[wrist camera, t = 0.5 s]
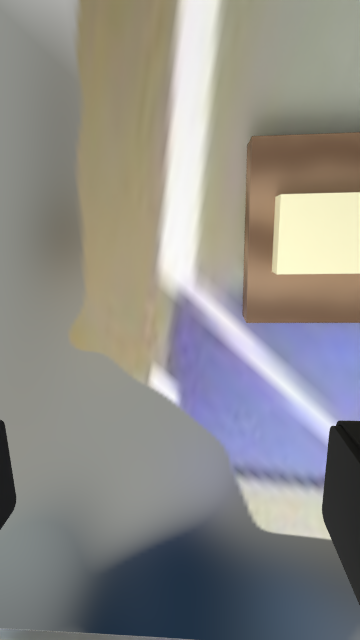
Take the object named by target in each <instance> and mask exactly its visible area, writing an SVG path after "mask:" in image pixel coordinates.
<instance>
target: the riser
mask: <svg viewBox="0 0 360 640" xmlns="http://www.w3.org/2000/svg"><path fill="white" fill-rule="evenodd" d="M351 192H360V132H356V133H329V134H302V135H275V136H252V138H251V140H250V142H249V143H248V145H247V175H246V210H245V246H244V282H243V317H244V319H245V321H246V323H360V274H275V273H273V272H272V257H273V236H274V216H275V197H276V196H278V195H281V194H312V193H351Z"/></svg>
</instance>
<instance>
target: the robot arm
mask: <svg viewBox="0 0 360 640" xmlns="http://www.w3.org/2000/svg"><path fill="white" fill-rule="evenodd" d="M15 504H16V493H15V487H14V480H13V474H12V468H11V461H10V456H9V448H8V442H7V436H6V429H5V424H4V422H3V421H2V420H0V529H1V528H2V526H3V525H4V524H5V522H6V521H7V519H8V518H9V516H10V514H11V513H12V512H13V510H14V507H15ZM322 514H323V519H324V522H325V525H326V527H327V530H328V532H329V534H330V537H331V539H332V541H333V544H334V546H335V548H336V550H337V553H338V555H339V558H340V560H341V562H342V565H343V567H344V570H345V572H346V574H347V577H348V579H349V581H350V584H351V586H352V588H353V591H354V593H355V595H356V598H357V600H358V602H359V605H360V421H338V422H337V424H336V426H331V428H330V432H329V442H328V453H327V463H326V473H325V483H324V494H323V504H322ZM0 640H189V639H174V638H158V637H141V636H124V635H108V634H91V633H74V632H56V631H39V630H20V629H3V628H0Z"/></svg>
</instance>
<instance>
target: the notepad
mask: <svg viewBox="0 0 360 640" xmlns="http://www.w3.org/2000/svg"><path fill="white" fill-rule="evenodd" d="M272 272H273V273H275V274H360V192H351V193H312V194H281V195H278V196H276V197H275V216H274V236H273V257H272Z"/></svg>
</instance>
